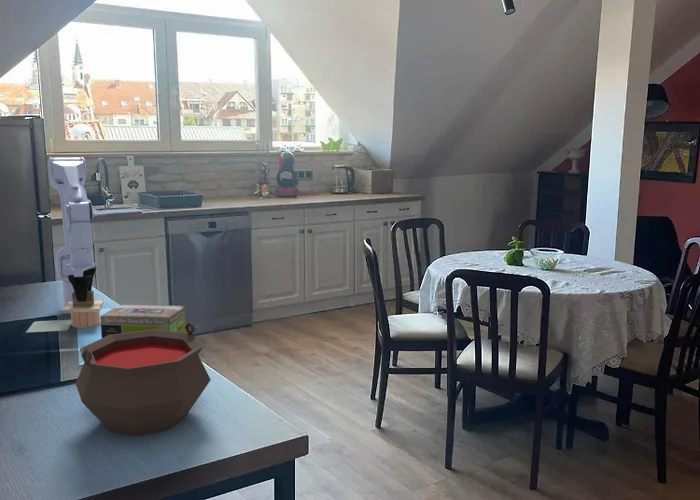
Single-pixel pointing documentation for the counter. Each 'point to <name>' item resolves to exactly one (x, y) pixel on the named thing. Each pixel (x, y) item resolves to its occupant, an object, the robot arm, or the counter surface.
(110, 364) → the brown cauldron
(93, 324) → the cup
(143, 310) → the tea box
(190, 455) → the counter surface
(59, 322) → the mat
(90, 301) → the lid
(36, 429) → the counter surface
